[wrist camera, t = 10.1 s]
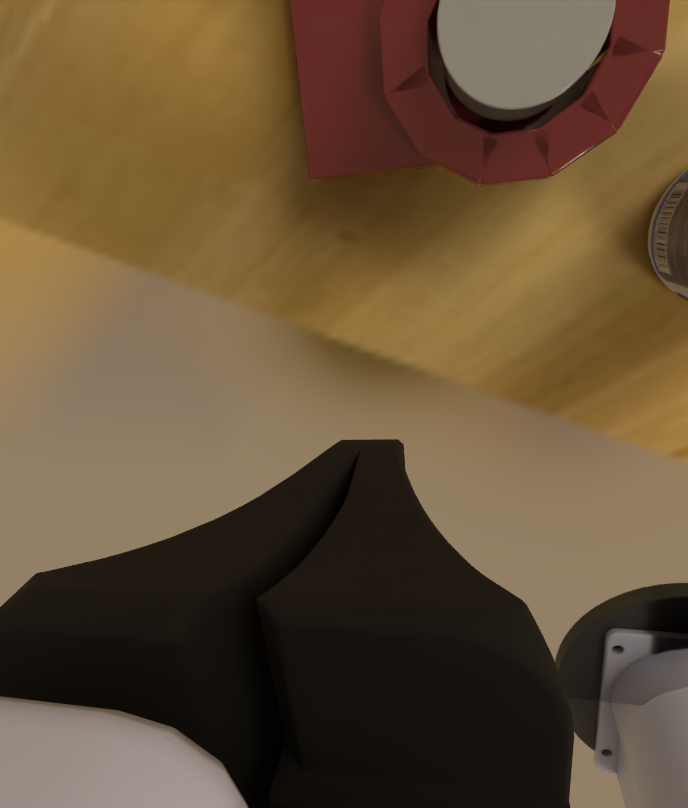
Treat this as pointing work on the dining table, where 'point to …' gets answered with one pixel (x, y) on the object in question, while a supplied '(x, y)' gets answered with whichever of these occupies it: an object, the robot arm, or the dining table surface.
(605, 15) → the light grey cylinder
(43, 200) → the dining table surface
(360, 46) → the red socket plate
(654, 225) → the pill bottle
